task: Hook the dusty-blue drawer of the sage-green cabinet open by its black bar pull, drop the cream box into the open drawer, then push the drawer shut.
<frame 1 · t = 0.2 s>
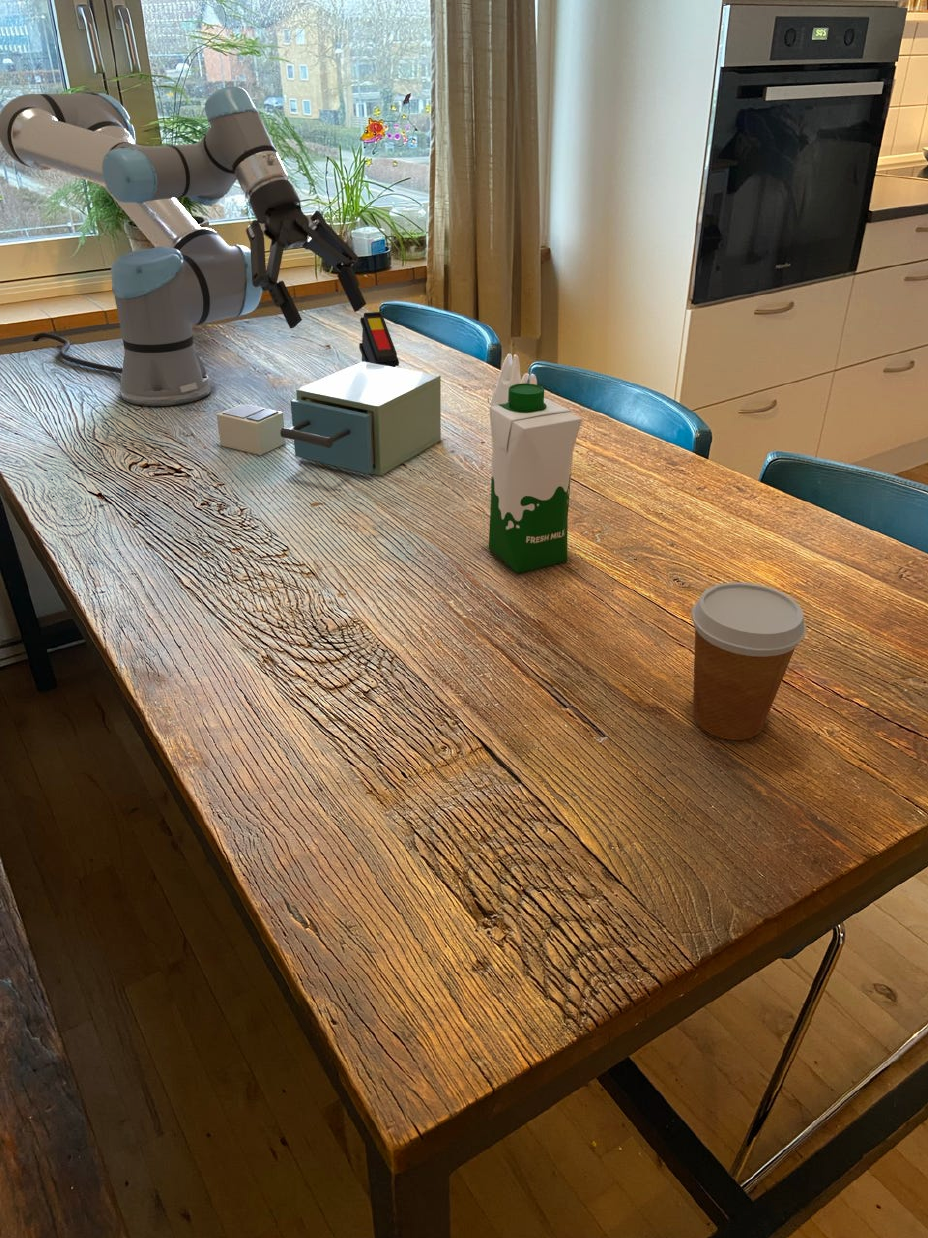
hand: (329, 316, 146), 16 cm above the table, tool tilted 35°, fingers open, 13 cm apart
milk carton: (527, 557, 111), on the table
black switch panel: (380, 407, 157), on the table
disposable coffee cup: (727, 720, 84), on the table
cabinet: (372, 448, 140), on the table
shaker set: (514, 425, 150), on the table
cream box: (253, 444, 141), on the table
drawer: (349, 426, 133), point 5 cm above the table, slide at 1.0 cm
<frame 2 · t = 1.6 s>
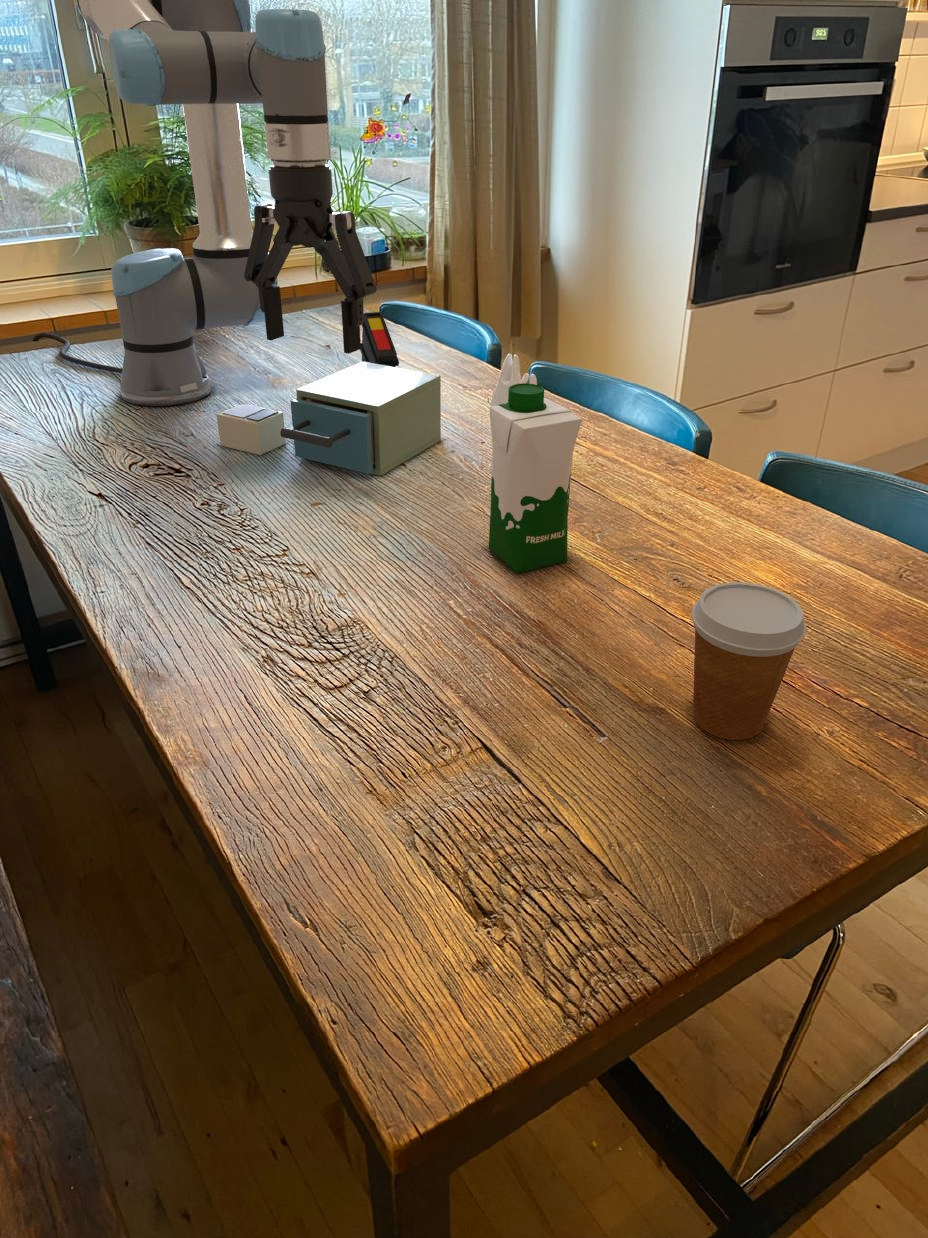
hand: (313, 344, 121), 19 cm above the table, tool pointing down, fingers open, 12 cm apart
nothing on the table moved.
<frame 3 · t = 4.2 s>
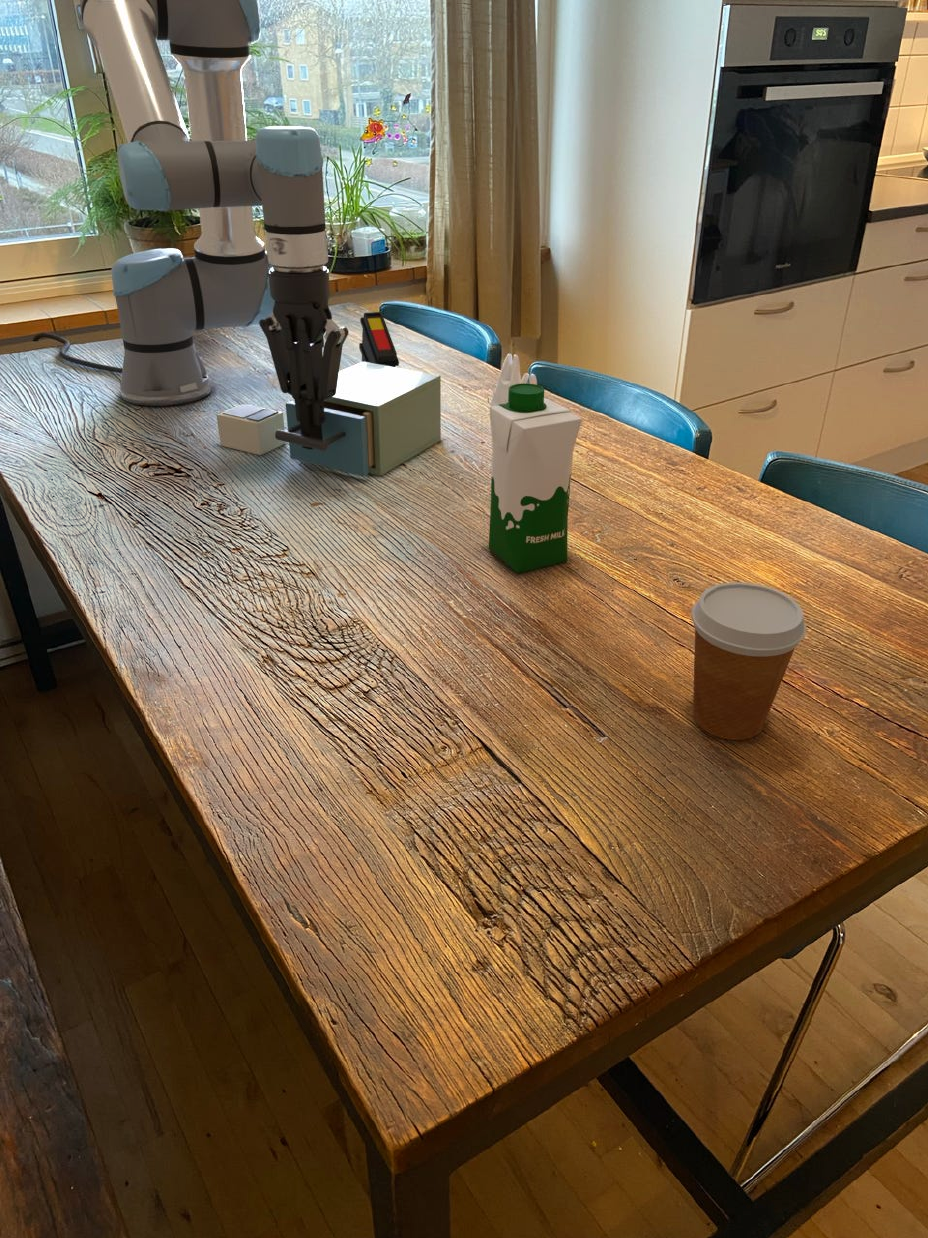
hand: (312, 445, 127), 5 cm above the table, tool pointing down, fingers closed
drawer: (345, 429, 133), point 5 cm above the table, slide at 2.1 cm, touching gripper
everything else where it was.
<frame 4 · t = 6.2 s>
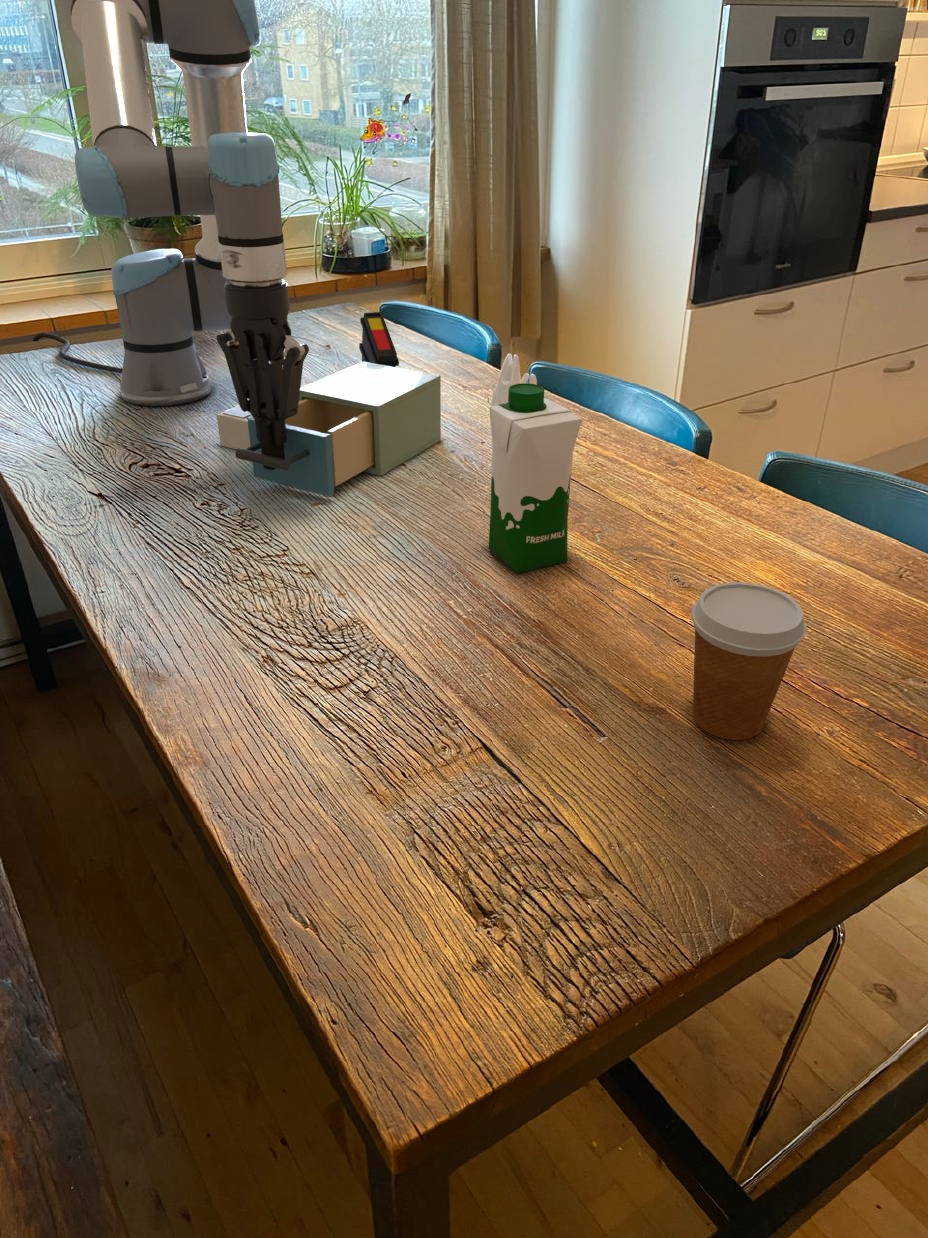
hand: (274, 465, 121), 5 cm above the table, tool pointing down, fingers closed
drawer: (310, 446, 127), point 5 cm above the table, slide at 10.2 cm
everything else where it was.
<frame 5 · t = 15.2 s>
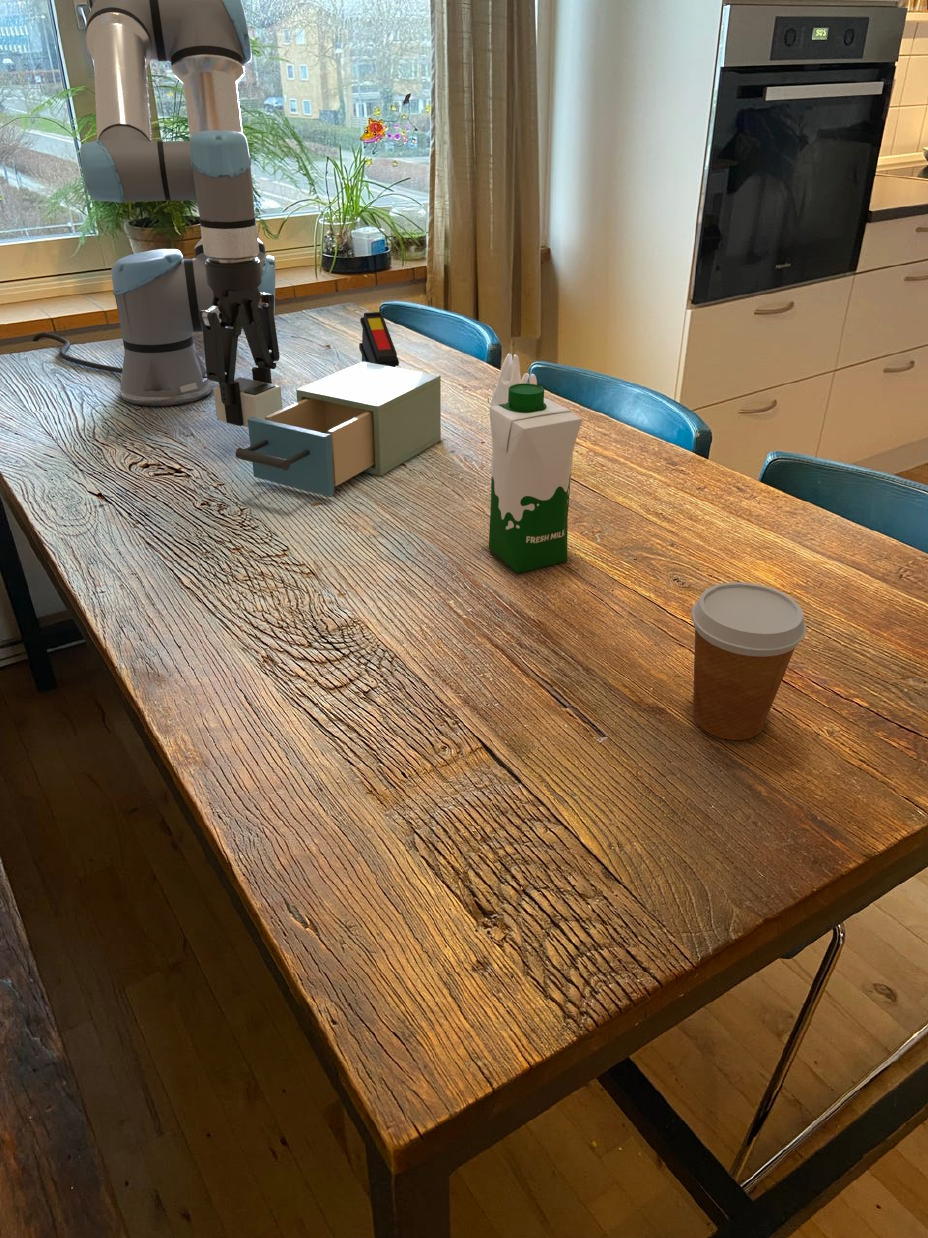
hand: (250, 416, 139), 4 cm above the table, tool pointing down, fingers closed on cream box, 6 cm apart
cream box: (250, 418, 139), point 4 cm above the table, touching gripper
everything else where it was.
when the fingers open (7 cm above the table, at t = 20.3 s): cream box drops 5 cm, resting on drawer.
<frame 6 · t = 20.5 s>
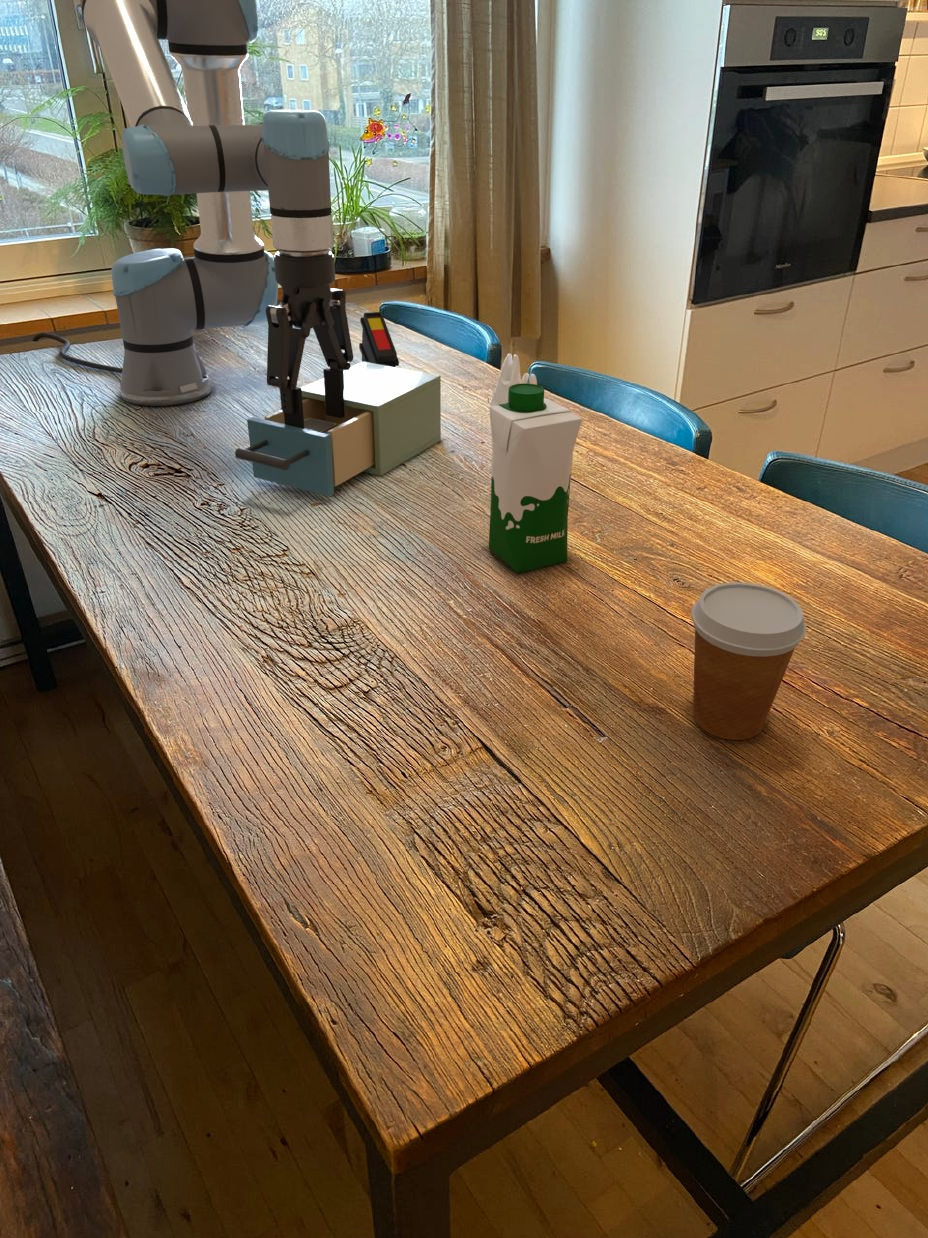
hand: (315, 424, 126), 8 cm above the table, tool pointing down, fingers open, 8 cm apart
cream box: (321, 462, 130), point 2 cm above the table, touching drawer
drawer: (310, 446, 127), point 5 cm above the table, slide at 10.2 cm, touching cream box
everything else where it was.
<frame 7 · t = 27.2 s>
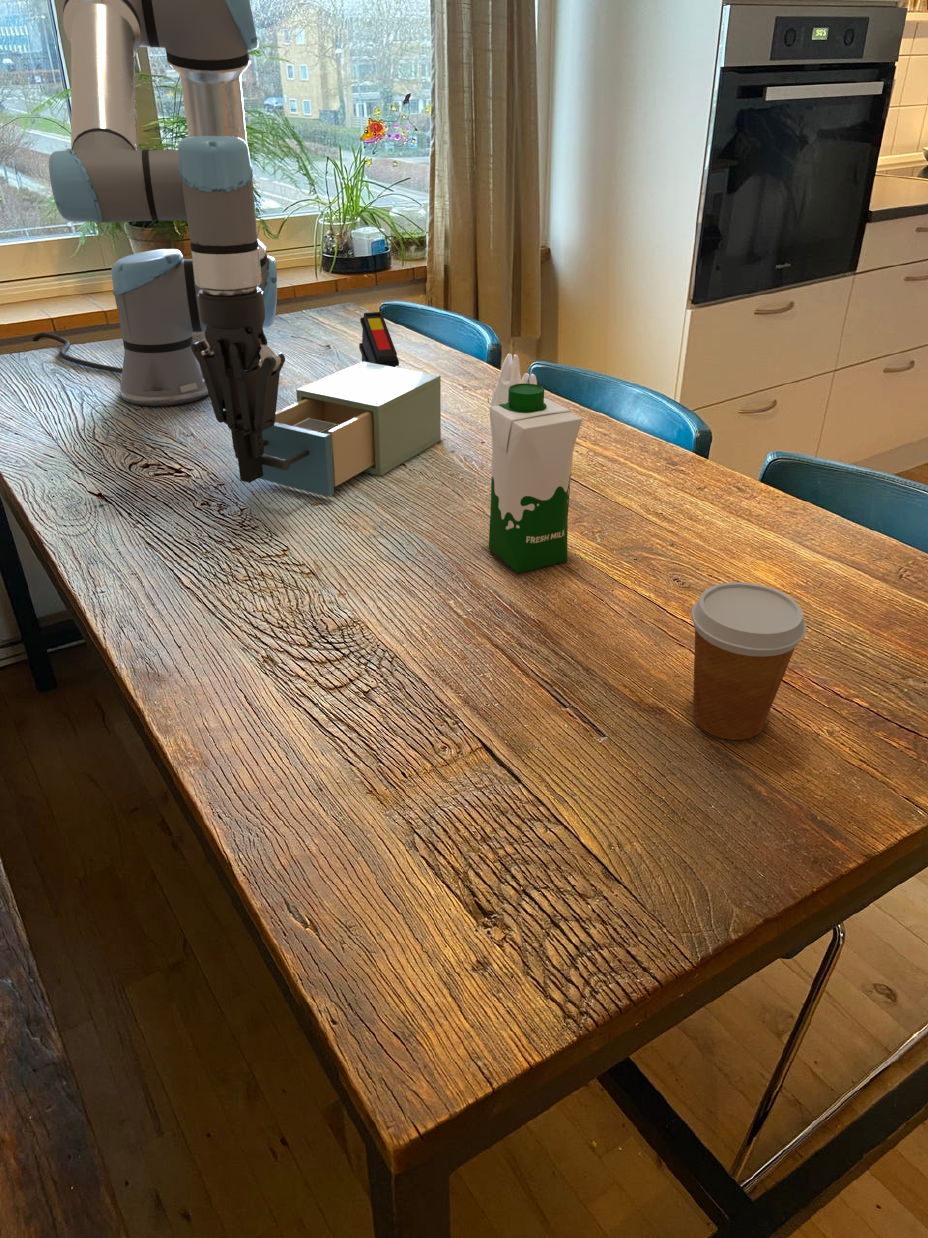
hand: (252, 477, 118), 5 cm above the table, tool pointing down, fingers closed
drawer: (310, 446, 127), point 5 cm above the table, slide at 10.2 cm, touching cream box, gripper
everything else where it was.
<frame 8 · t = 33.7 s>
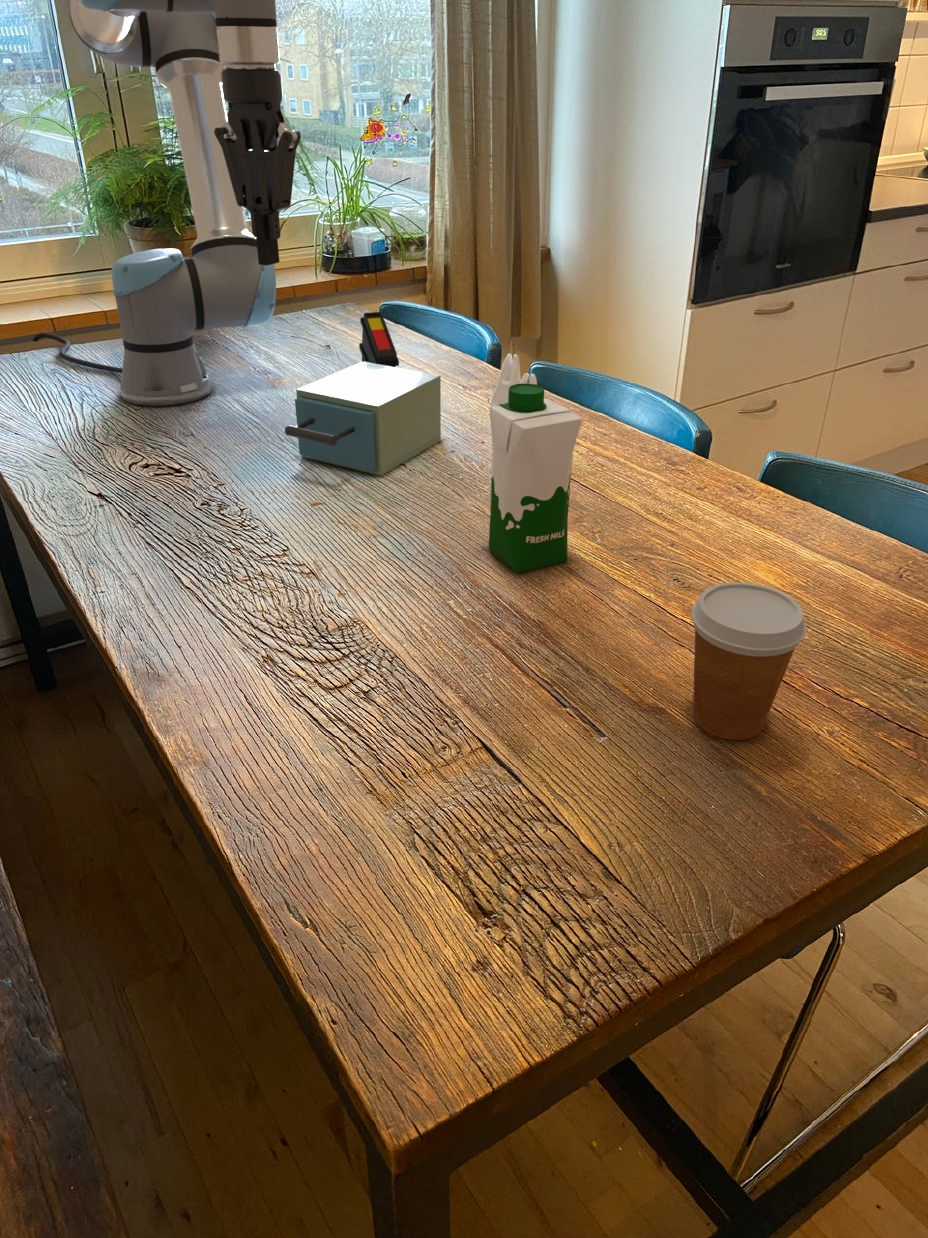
hand: (269, 263, 128), 26 cm above the table, tool pointing down, fingers closed
cream box: (362, 440, 137), point 2 cm above the table, touching drawer
drawer: (353, 424, 134), point 5 cm above the table, slide at 0.0 cm, touching cabinet, cream box
everything else where it was.
at the end: drawer pulled out 10.9 cm at the most during the clip, back to where it started at the end; cream box inside the target area in the cabinet (2.4 cm from its centre), point 2.1 cm above the cabinet's base; drawer slide at 0.0 cm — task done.
